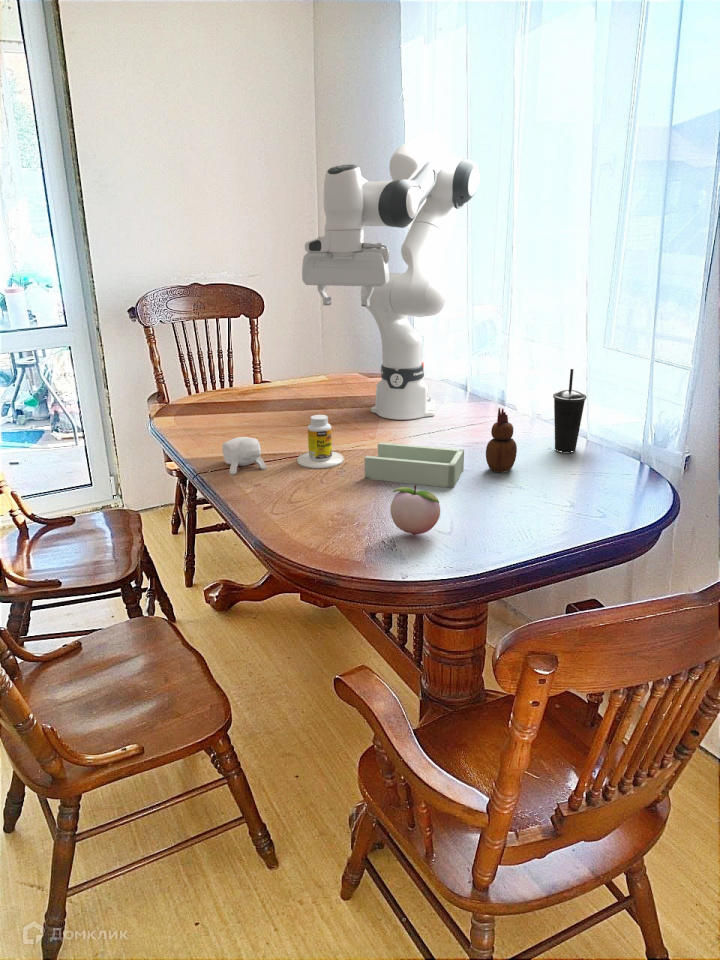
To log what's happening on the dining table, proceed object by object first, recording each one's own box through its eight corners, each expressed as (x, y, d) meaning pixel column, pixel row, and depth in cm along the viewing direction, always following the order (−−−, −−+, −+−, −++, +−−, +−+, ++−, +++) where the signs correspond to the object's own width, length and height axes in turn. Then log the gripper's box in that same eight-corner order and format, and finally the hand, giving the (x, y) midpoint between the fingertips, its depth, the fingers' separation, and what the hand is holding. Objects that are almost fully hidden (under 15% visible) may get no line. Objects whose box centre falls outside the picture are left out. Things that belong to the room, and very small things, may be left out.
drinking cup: (583, 447, 180) (591, 367, 173) (578, 456, 174) (586, 373, 167) (552, 443, 183) (558, 364, 176) (546, 453, 177) (552, 371, 170)
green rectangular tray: (379, 462, 173) (379, 442, 171) (463, 470, 167) (464, 449, 165) (364, 478, 163) (364, 457, 161) (453, 487, 157) (454, 465, 155)
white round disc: (307, 451, 182) (307, 449, 181) (349, 455, 178) (349, 453, 178) (290, 466, 172) (289, 463, 172) (334, 470, 169) (333, 468, 168)
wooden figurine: (496, 476, 163) (499, 411, 157) (480, 468, 168) (483, 405, 162) (520, 471, 166) (524, 407, 160) (504, 463, 171) (507, 401, 165)
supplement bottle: (316, 463, 171) (314, 421, 168) (304, 457, 176) (302, 416, 172) (336, 458, 174) (335, 417, 170) (324, 452, 178) (323, 412, 175)
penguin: (222, 476, 175) (237, 473, 161) (216, 441, 175) (230, 435, 161) (257, 471, 178) (274, 466, 164) (250, 436, 178) (267, 429, 164)
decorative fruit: (383, 541, 133) (382, 491, 130) (397, 524, 140) (396, 475, 137) (432, 549, 130) (433, 497, 127) (444, 530, 137) (445, 480, 134)
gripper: (392, 242, 165) (393, 304, 170) (308, 242, 171) (311, 302, 176) (384, 244, 159) (385, 308, 164) (297, 244, 165) (300, 306, 170)
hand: (346, 305), depth 170 cm, fingers open, 8 cm apart
